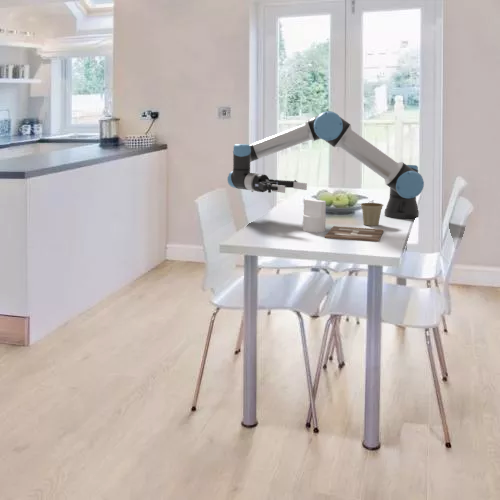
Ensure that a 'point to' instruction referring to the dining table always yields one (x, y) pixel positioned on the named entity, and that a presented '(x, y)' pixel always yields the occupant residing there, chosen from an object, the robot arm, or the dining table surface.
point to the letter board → (354, 233)
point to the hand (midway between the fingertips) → (295, 188)
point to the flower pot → (371, 213)
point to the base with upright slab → (314, 215)
